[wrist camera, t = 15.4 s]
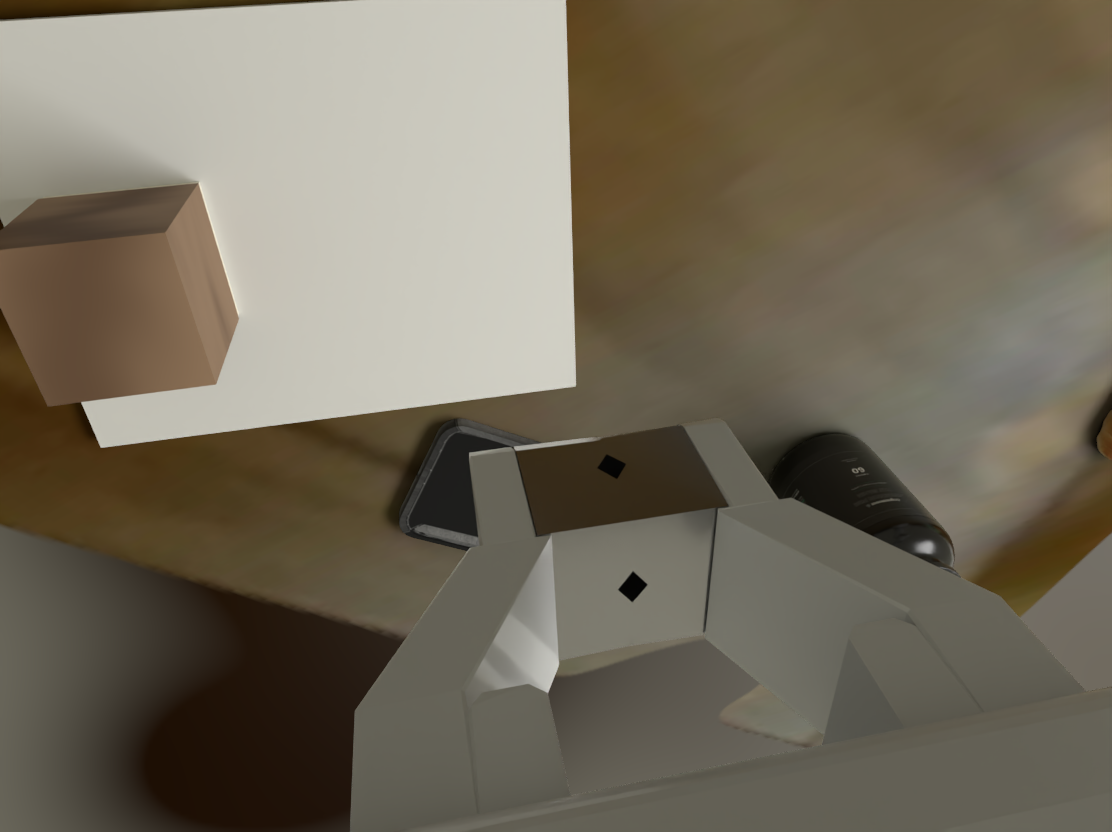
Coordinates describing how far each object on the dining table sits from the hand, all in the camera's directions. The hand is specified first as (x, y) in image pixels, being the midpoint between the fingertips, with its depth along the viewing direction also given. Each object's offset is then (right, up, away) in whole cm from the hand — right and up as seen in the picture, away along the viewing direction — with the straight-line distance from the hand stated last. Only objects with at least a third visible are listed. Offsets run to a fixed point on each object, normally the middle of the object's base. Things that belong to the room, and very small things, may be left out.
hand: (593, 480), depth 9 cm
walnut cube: (-16, +4, +18) cm, 25 cm away
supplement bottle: (+15, -3, +38) cm, 41 cm away
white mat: (-11, +9, +25) cm, 28 cm away
